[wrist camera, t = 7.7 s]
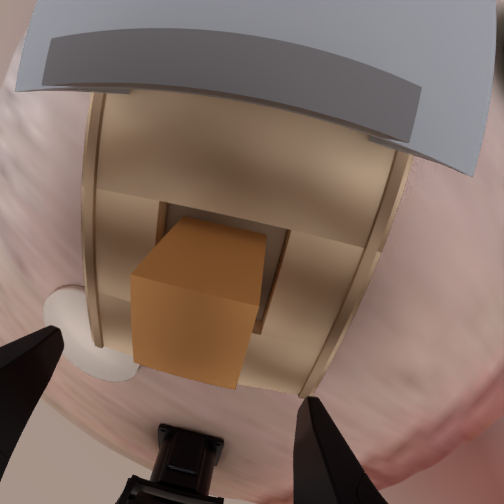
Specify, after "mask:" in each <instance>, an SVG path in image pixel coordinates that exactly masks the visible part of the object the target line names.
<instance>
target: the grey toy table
mask: <svg viewBox="0 0 504 504" xmlns="http://www.w3.org/2000/svg"><path fill="white" fill-rule="evenodd" d="M495 51H496V0H37V3H36V6H35V9H34V12H33V15H32V18H31V21H30V25H29V28H28V32H27V35H26V39H25V43H24V47H23V51H22V56H21V60H20V65H19V70H18V76H17V82H16V88H15V92H28V91H80V92H96V93H109V94H129V93H130V89H139V90H154V91H166V92H177V93H186V94H194V95H202V96H209V97H216V98H222V99H229V100H234V101H240V102H246V103H251V104H256V105H261V106H266V107H270V108H275V109H279V110H284V111H288V112H292V113H296V114H300V115H304V116H308V117H312V118H315V119H319V120H323V121H326V122H330V123H333V124H336V125H340V126H343V127H346V128H349V129H353V130H356V131H359V132H362V133H365V134H368V135H370V137H369V140H368V141H370V142H373V143H376V144H379V145H381V146H384V147H387V148H390V149H394V150H397V151H401V152H404V153H408V154H411V155H414V156H418V157H421V158H424V159H427V160H430V161H433V162H436V163H439V164H442V165H445V166H447V167H449V168H452V169H454V170H456V171H458V172H460V173H463V174H466V175H468V176H471V177H473V175H474V172H475V168H476V164H477V161H478V157H479V153H480V149H481V145H482V140H483V136H484V131H485V126H486V121H487V116H488V111H489V105H490V98H491V91H492V84H493V75H494V65H495Z"/></svg>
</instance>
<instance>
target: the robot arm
mask: <svg viewBox="0 0 504 504" xmlns="http://www.w3.org/2000/svg"><path fill="white" fill-rule="evenodd" d="M63 350H64V340H63V336H62V332H61V329H60V328H58V327H56V326H53V325H50V326H47V327H45V328H43V329H40V330H38V331H36V332H33V333H31V334H29V335H27V336H24V337H22V338H20V339H17V340H15V341H13V342H11V343H8V344H6V345H4V346H2V347H0V481H1V478H2V476H3V474H4V471H5V469H6V467H7V464H8V462H9V459H10V457H11V455H12V452H13V451H14V448H15V446H16V444H17V442H18V440H19V438H20V436H21V433H22V432H23V429H24V428H25V426H26V424H27V421H28V419H29V418H30V416H31V414H32V412H33V410H34V408H35V406H36V404H37V402H38V401H39V399H40V397H41V395H42V394H43V392H44V390H45V388H46V386H47V385H48V383H49V381H50V379H51V377H52V374H53V372H54V370H55V368H56V365H57V363H58V361H59V359H60V357H61V354H62V352H63ZM158 438H159V453H158V456H157V459H156V462H155V465H154V468H153V471H152V475H151V478H150V481H148V480H145V479H142V478H139V477H138V476H136V475H132V477H131V478H128V481H127V483H126V486H125V489H124V491H123V493H122V494H121V496H120V497H119V499H118V500H117V502H116V503H115V504H223V503H224V498H221V497H218V498H216V497H211V496H208V495H209V489H210V484H211V479H212V474H213V469H214V466H216V465H217V463H218V460H219V457H220V454H221V451H222V448H223V445H224V441H223V440H221V439H217V438H212V437H208V436H203V435H199V434H195V433H191V432H187V431H183V430H179V429H176V428H172V427H169V426H165V425H159V427H158ZM364 472H365V471H364V469H363V468H362V466H361V465H360V463H359V461H358V460H357V458H356V457H355V455H354V454H353V452H352V450H351V449H350V447H349V446H348V444H347V442H346V441H345V439H344V438H343V436H342V435H341V433H340V431H339V430H338V428H337V426H336V425H335V423H334V422H333V420H332V418H331V417H330V415H329V414H328V412H327V410H326V409H325V407H324V406H323V404H322V402H321V401H320V399H319V398H318V397H312V396H307V397H306V398H305V399H304V401H303V403H302V405H301V406H300V408H299V410H298V414H297V423H296V432H295V441H294V451H293V475H294V504H388V503H387V502H386V501H385V499H384V498H383V497H382V496H381V494H380V493H379V492H378V490H377V489H376V487H375V486H374V485H373V483H372V482H371V480H370V479H369V477H368V475H367V474H366V473H364Z"/></svg>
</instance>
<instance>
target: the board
mask: <svg viewBox="0 0 504 504" xmlns="http://www.w3.org/2000/svg"><path fill="white" fill-rule="evenodd" d="M369 137H370V135H368V134H365V133H362V132H359V131H356V130H353V129H349V128H346V127H343V126H340V125H336V124H333V123H330V122H326V121H323V120H319V119H315V118H312V117H308V116H304V115H300V114H296V113H292V112H288V111H284V110H279V109H275V108H270V107H266V106H261V105H256V104H251V103H246V102H240V101H234V100H229V99H222V98H216V97H209V96H202V95H194V94H186V93H177V92H166V91H154V90H139V89H130V93H129V94H109V93H96V92H91V97H90V103H89V110H88V117H87V125H86V133H85V143H84V155H83V170H82V194H81V232H82V256H83V271H84V283H85V293H86V302H87V310H88V318H89V324H90V331H91V337H92V342H94V343H95V346H96V347H99V348H103V347H104V346H105V347H108V348H111V349H114V350H116V351H119V352H122V353H125V354H128V355H131V356H133V347H132V329H131V291H130V274H131V273H132V272H133V271H134V270H135V269H136V267H137V266H138V265H139V264H140V263H141V262H142V261H143V259H144V258H145V257H146V256H147V255H148V254H149V253H150V252H151V251H152V249H153V248H154V247H155V246H156V245H157V244H158V243H159V242H160V241H161V240H162V238H163V237H164V236H165V235H166V234H167V233H168V232H169V231H170V230H171V229H172V228H173V227H174V226H175V225H176V223H177V222H178V221H179V220H180V219H181V218H182V217H183V216H186V217H190V218H195V219H200V220H204V221H209V222H213V223H218V224H222V225H227V226H231V227H236V228H240V229H244V230H249V231H253V232H258V233H262V234H266V235H267V239H266V249H265V258H264V268H263V277H262V286H261V295H260V304H259V309H258V312H257V316H256V320H255V323H254V327H253V330H252V334H251V337H250V341H249V344H248V348H247V351H246V355H245V358H244V362H243V365H242V369H241V372H240V375H239V379H238V382H237V384H240V385H245V386H250V387H255V388H260V389H266V390H272V391H278V392H284V393H291V394H297V395H298V397H299V398H303V399H305V398H306V397H307V396H313V394H314V392H315V390H316V389H317V387H318V385H319V383H320V382H321V380H322V378H323V376H324V374H325V373H326V371H327V369H328V367H329V365H330V363H331V361H332V360H333V358H334V356H335V354H336V352H337V350H338V348H339V346H340V344H341V342H342V340H343V338H344V336H345V334H346V332H347V330H348V328H349V326H350V324H351V322H352V320H353V318H354V315H355V313H356V311H357V309H358V307H359V305H360V302H361V300H362V298H363V296H364V293H365V291H366V289H367V287H368V284H369V282H370V280H371V277H372V275H373V272H374V270H375V268H376V265H377V263H378V260H379V258H380V255H381V253H382V250H383V247H384V245H385V242H386V240H387V237H388V234H389V231H390V229H391V226H392V223H393V220H394V218H395V215H396V212H397V209H398V206H399V203H400V200H401V197H402V194H403V191H404V187H405V184H406V181H407V178H408V174H409V171H410V168H411V164H412V161H413V157H414V155H411V154H408V153H404V152H401V151H397V150H394V149H390V148H387V147H384V146H381V145H379V144H376V143H373V142H370V141H368V140H369ZM287 229H288V231H287ZM286 233H287V234H286ZM285 236H286V238H285ZM284 240H285V242H284ZM283 243H284V245H283ZM282 247H283V249H282ZM281 251H282V253H281ZM280 254H281V256H280ZM279 258H280V260H279ZM278 262H279V263H278ZM277 265H278V267H277ZM276 269H277V270H276ZM275 272H276V274H275ZM274 276H275V277H274ZM273 279H274V281H273ZM272 283H273V284H272ZM271 286H272V288H271ZM270 290H271V291H270ZM269 293H270V295H269ZM268 297H269V298H268ZM267 300H268V302H267ZM266 304H267V305H266ZM265 307H266V309H265ZM264 310H265V312H264ZM263 314H264V315H263ZM262 317H263V319H262Z"/></svg>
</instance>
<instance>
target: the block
mask: <svg viewBox="0 0 504 504" xmlns="http://www.w3.org/2000/svg"><path fill="white" fill-rule="evenodd" d="M266 239H267V235H266V234H262V233H258V232H253V231H249V230H244V229H240V228H236V227H231V226H227V225H222V224H218V223H213V222H209V221H204V220H200V219H195V218H190V217H186V216H183V217H182V218H181V219H180V220H179V221H178V222H177V223H176V225H175V226H174V227H173V228H172V229H171V230H170V231H169V232H168V233H167V234H166V235H165V236H164V237H163V238H162V240H161V241H160V242H159V243H158V244H157V245H156V246H155V247H154V248H153V249H152V251H151V252H150V253H149V254H148V255H147V256H146V257H145V258H144V259H143V261H142V262H141V263H140V264H139V265H138V266H137V267H136V269H135V270H134V271H133V272H132V273H131V274H130V291H131V329H132V347H133V361H134V363H137V364H140V365H143V366H146V367H149V368H152V369H156V370H159V371H162V372H166V373H169V374H173V375H176V376H180V377H184V378H187V379H191V380H195V381H199V382H203V383H207V384H211V385H216V386H220V387H225V388H229V389H234V390H235V389H236V386H237V382H238V379H239V375H240V372H241V369H242V365H243V362H244V358H245V355H246V351H247V348H248V344H249V341H250V337H251V334H252V330H253V327H254V323H255V320H256V316H257V312H258V309H259V304H260V295H261V286H262V277H263V268H264V258H265V249H266Z"/></svg>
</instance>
